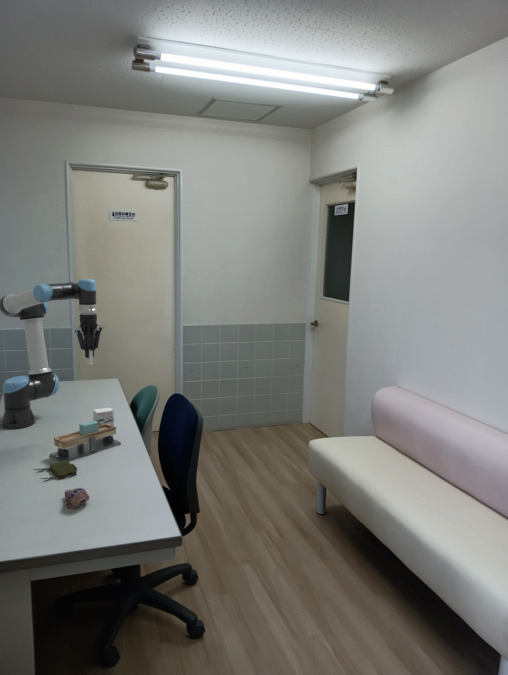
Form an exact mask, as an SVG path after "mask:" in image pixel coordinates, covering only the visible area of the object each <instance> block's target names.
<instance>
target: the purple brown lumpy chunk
mask: <svg viewBox="0 0 508 675" xmlns="http://www.w3.org/2000/svg"><path fill="white" fill-rule="evenodd" d="M64 499H65V501H64V503H65V505H66V506H67V507H68V508H70V509H71V508H76V507H77V506H79V505H80V504H81V503H87V502H88V501H89V500H90V495H89V494H88V492H87V490H86V489H85V488H83V487H76V488H74V489H67V490H65V491H64Z"/></svg>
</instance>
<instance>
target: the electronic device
mask: <svg viewBox="0 0 508 675" xmlns="http://www.w3.org/2000/svg"><path fill="white" fill-rule="evenodd" d="M47 470H49V471H50V472H51V473H52V474H53V476H54V477H52V476H51V477H42V478H39V479H40V480H43V483H44V482H48V481H51V480H53V479H57V480H64V479H67V478H70V477H75V476H77V471H78V467H76V465H75V464H74V463H71V462H68V461H66V460H65V461H62V462H60V461H59V462H53V463H50V464H49V467H46V468H45V467H44V468H35V469H34V468H33V471H37V472H35V473H41V472H44V471H47Z"/></svg>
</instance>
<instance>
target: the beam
mask: <svg viewBox="0 0 508 675" xmlns="http://www.w3.org/2000/svg"><path fill="white" fill-rule="evenodd" d="M116 434H117V427H116V426H115V425H114V426H112V425H110V424H103V425H99V431H97V432H93V433H90V434H86V435H82V436H81V435H80V433H79V430H77V431H74V432H71V433H67V434H63V435H60V436H55V437H53V446H55V447H57V448H61V449H67V448H71V447H74V446H77V445H80V444H83V443H87V442H89V438H91V437H96V440H97V439H100V438H104V437H107V436H110V435H111V436H113V435H116Z"/></svg>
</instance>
